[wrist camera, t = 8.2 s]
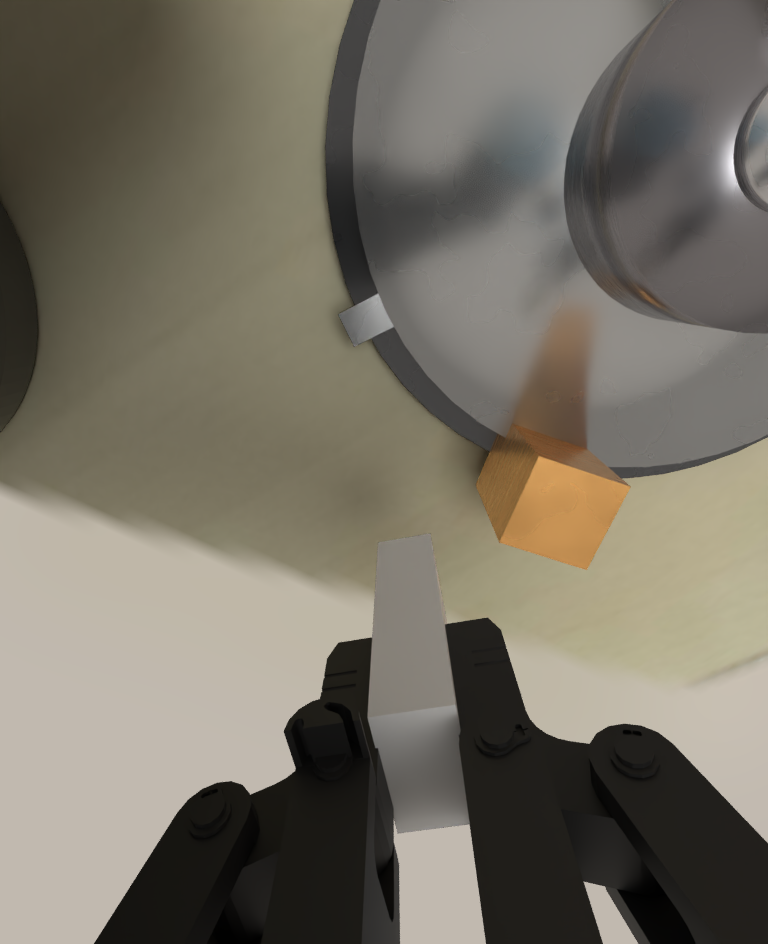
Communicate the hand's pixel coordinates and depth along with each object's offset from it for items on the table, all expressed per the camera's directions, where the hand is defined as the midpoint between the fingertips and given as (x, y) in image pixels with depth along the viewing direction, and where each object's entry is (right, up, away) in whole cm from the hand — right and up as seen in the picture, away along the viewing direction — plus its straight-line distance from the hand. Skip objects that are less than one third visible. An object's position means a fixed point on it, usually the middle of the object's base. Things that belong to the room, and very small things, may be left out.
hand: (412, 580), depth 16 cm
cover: (+9, +12, +1) cm, 16 cm away
